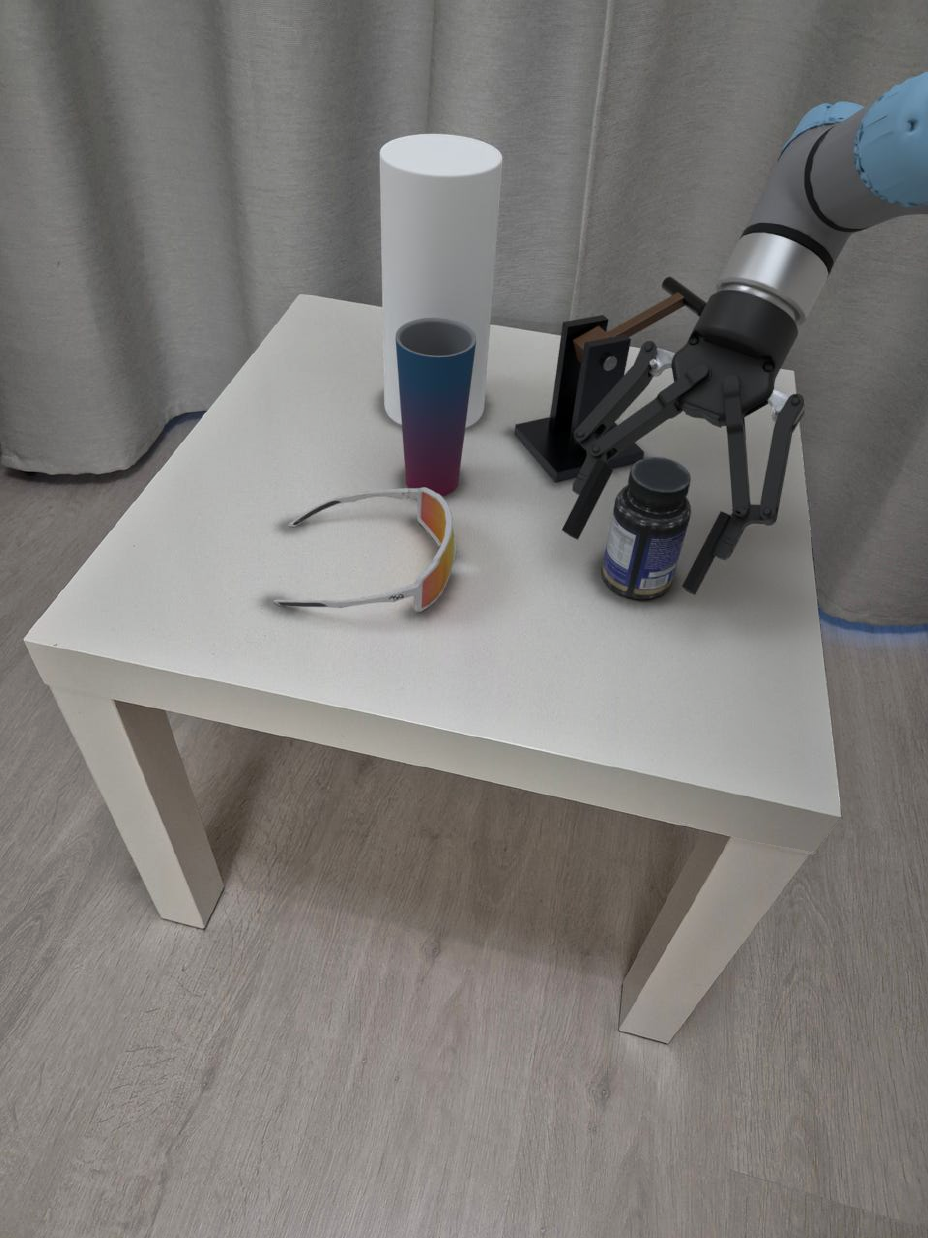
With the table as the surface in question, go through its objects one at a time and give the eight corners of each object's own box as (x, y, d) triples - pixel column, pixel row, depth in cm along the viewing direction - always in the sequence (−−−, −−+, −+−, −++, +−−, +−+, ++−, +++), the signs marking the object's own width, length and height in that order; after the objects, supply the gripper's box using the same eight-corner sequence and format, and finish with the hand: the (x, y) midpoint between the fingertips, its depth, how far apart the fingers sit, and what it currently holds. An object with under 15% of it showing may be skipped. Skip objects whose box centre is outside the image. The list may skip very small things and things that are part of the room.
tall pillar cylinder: (363, 404, 93) (353, 149, 76) (432, 369, 99) (438, 125, 81) (436, 445, 88) (444, 184, 71) (504, 406, 94) (527, 155, 77)
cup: (389, 466, 86) (386, 321, 75) (455, 456, 87) (462, 313, 77) (406, 508, 81) (407, 360, 71) (476, 497, 83) (487, 351, 72)
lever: (674, 290, 85) (672, 268, 83) (711, 317, 81) (709, 296, 79) (567, 350, 84) (562, 330, 83) (599, 381, 81) (595, 360, 79)
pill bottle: (674, 563, 77) (704, 459, 70) (667, 609, 73) (698, 504, 65) (605, 548, 78) (627, 444, 71) (594, 593, 74) (616, 488, 66)
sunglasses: (460, 625, 71) (454, 580, 67) (277, 639, 72) (261, 595, 68) (458, 514, 81) (452, 470, 77) (297, 528, 81) (284, 485, 78)
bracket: (597, 415, 94) (617, 300, 85) (642, 461, 88) (669, 344, 79) (513, 434, 91) (525, 316, 82) (555, 483, 85) (573, 363, 76)
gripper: (896, 375, 68) (762, 628, 70) (637, 288, 77) (524, 516, 79) (904, 337, 62) (755, 619, 63) (619, 246, 70) (495, 497, 72)
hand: (627, 562), depth 71 cm, fingers open, 10 cm apart
